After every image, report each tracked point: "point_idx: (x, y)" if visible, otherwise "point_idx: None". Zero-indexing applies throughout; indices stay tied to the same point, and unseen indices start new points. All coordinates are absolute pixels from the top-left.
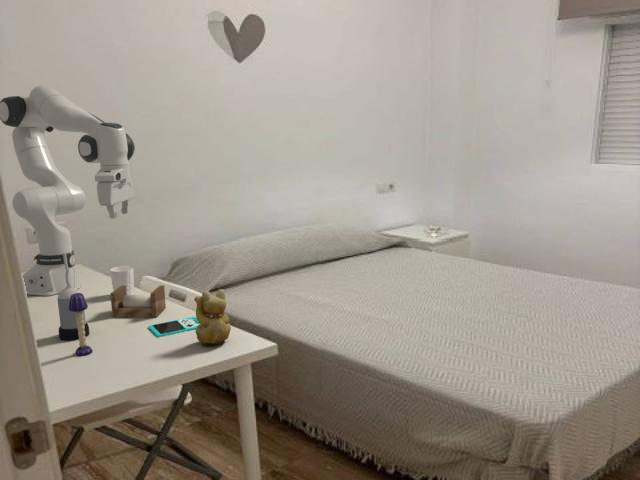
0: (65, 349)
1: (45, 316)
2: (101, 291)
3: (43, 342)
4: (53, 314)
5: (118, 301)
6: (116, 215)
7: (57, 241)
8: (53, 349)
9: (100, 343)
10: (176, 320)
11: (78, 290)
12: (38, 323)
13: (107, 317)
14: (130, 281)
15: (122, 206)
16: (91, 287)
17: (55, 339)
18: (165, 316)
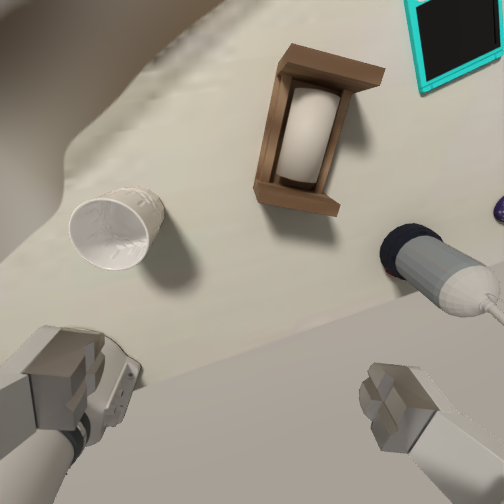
0: (472, 244)
1: (274, 329)
2: (102, 274)
3: None
4: (265, 320)
5: (312, 194)
6: (393, 376)
7: (36, 482)
8: None
9: (472, 188)
10: (415, 7)
11: (482, 278)
12: (313, 327)
13: None
14: (139, 197)
15: (1, 453)
16: (67, 304)
17: None
18: (348, 54)
